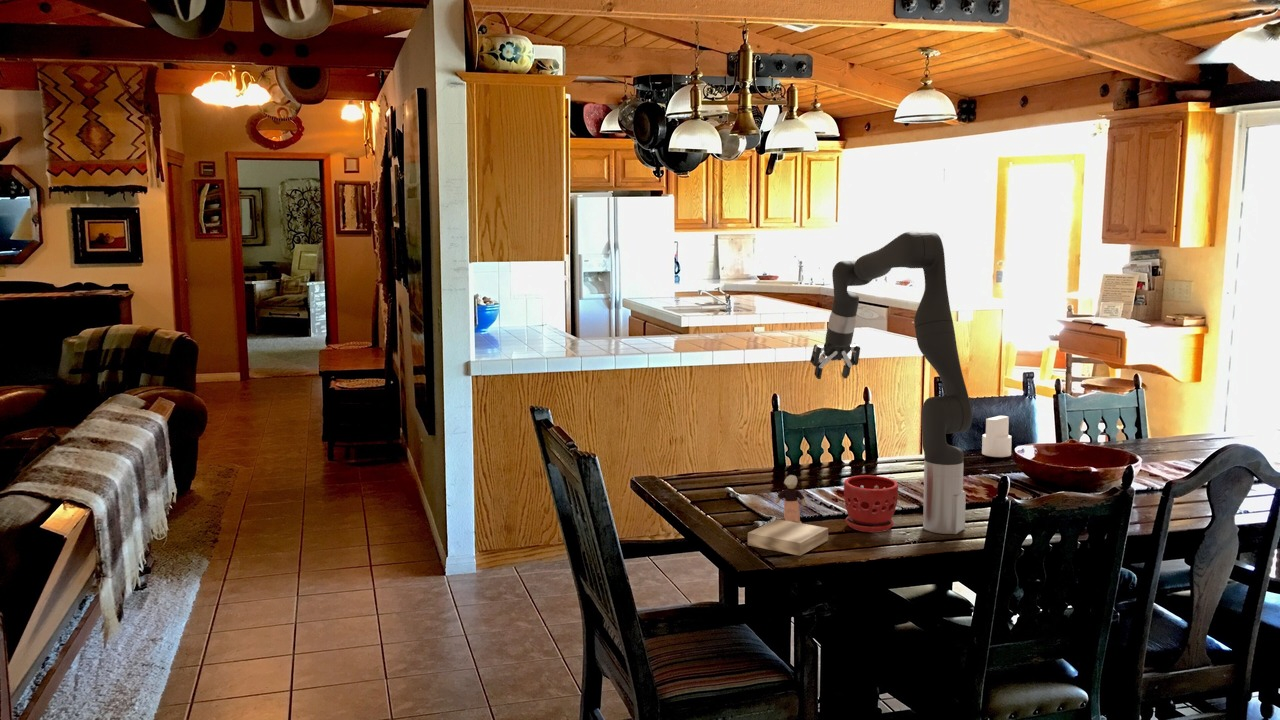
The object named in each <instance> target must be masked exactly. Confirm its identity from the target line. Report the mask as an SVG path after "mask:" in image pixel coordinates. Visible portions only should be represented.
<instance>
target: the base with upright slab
mask: <svg viewBox="0 0 1280 720" xmlns="http://www.w3.org/2000/svg"><path fill="white" fill-rule="evenodd" d="M1009 418H1010V416H1007V415H996V416H993V417H988V418H986V419H985V433H984V434H982V437H981V442H982V443H981V445H982V446H981V454H982V455H984V456H986V457H991V458H992V457H993V458H1005V457H1006V458H1007V457H1011V456H1012V435H1010V434H1009V422H1010V419H1009Z"/></svg>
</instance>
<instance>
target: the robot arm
mask: <svg viewBox="0 0 1280 720" xmlns="http://www.w3.org/2000/svg"><path fill="white" fill-rule="evenodd" d="M893 268H896V269H897V268H907V269H922V270H923V275H924V292H923V295H922V297H921V300H920V301H919V304H918V307H917V310H916V312H915V314H914V319H913V320H914V323H913V324H914V325H913V326H914V330H915V331H914V332H915V336H916V338H915V339H916V342H917V346H918V349H919V351H920V353H921V354H922V355H923V357H924V359H926V361H927V362H928V363H929V364H930V366H932V368H933V369H934V370H935V372H936V373H937V375H938V376H939V379H940V381H941V383H942V385H943V390H944V394H945V395H942V396H941V395H937V396H929V397H927V398H926V399H925V400H924V402H923V404H922V409H921V436H922V437H921V440H922V442H921V445H922V450H923V453H924V461H923V462H924V464H923V465H924V466H923V467H924V468H923V469H924V470H923V512H922V513H923V516H922V517H923V518H922V522H923V524H922V528H923V529H924V530H925V531H927V532H931V533H935V534H944V535H948V534H949V535H957V534H958V533H961V532H962V531H964V529H965V528H966V499H967V498H966V494H967V492H966V490H964V459H965V458H964V457H965V455H964V451H963V449H961V448H959V447H957V446H955V445H954V446H953V445H950V444H948V441H947V435H948V434H957V433H965V432H967V431H969V430H970V428H971V425H972V422H973V413H972V412H973V411H972V405H971V401H970V397H969V393H968V390H967V389H968V388H967V386H966V382H965V378H964V376H963V371H962V367H961V366H962V365H961V362H960V358H959V352H958V346H957V338H956V333H955V327H954V320H953V316H952V312H951V307H950V306H951V305H950V300H949V292H948V287H947V286H948V285H947V284H948V283H947V272H946V259H945V249H944V245H943V242H942V239H941V236H940V235H939V234H937V232H934V231H906V232H904V233H902V234H899V235H898V236H897V237H895V238H894V239H893V240H891V241H890V242H888V243H886V244H885V245H884V246H882V247H880V248H879V249H877V250H874V251H871V252H869V253H866V254H864V255H862V256H860V257H859V258H857V260H841V261H838V262H837V263H836V264H835V265H834V267H833V269H832V273H831V275H832V285H833V303H832V308H831V312H830V315H829V318H828V322H827V328H826V332H825V333H826V334H825V339H824V340H825V341H824V344H823V345H818V343H817V344H814V346H813V349H812V352H811V357H810V361H809V362H810V363H811V365H812V366H813V367H815V369H814V377H815V378H816V379H817V380H821V378H822V375H823V370H824V369H823V367H824V366H825V365H826V364H828V363H830V361H842V360H843V362H844V363H845V364H843V367H842V372H841V376H842V378H843V379H848V377H849V376H850V374H851V367H853V366H857V365H858V364H859V360H860V352H861V346H860V345H858V344H857V343H853V344H852V342H853V336H854V332H855V326H856V322H857V312H858V309H859V303H860V297H859V295H858V294H857V293H855V292H853V291H849V290H848V287H858V286H865V285H868V284H870V283H871V281H873V280H876V279H878V278H881V277H884V276H886V275H887V274H888V273H890V272H891V270H892V269H893ZM850 352H851V356H850V357H849V356H848V354H849V353H850Z"/></svg>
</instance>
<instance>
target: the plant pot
mask: <svg viewBox="0 0 1280 720" xmlns="http://www.w3.org/2000/svg"><path fill="white" fill-rule="evenodd" d="M843 483H844V484H843V499H844V505H845V510H846V512H847V515H848V516H847V517H846V518H845V522H846V524H847V525H848V526H849V528H851V529H853V530H856V531H859V532H863V533H882V532H886V531H888V530H890V529H892V528H893V526H894V520H893V519H892V518H893V515H894V514H895V512H896V511H895V510H896V508H897V503H898V497H899V483H898V482H897V481H896V480H894V479H892V478H889V477H886V476H879V475H871V474H869V475H867V474H863V475H862V474H860V475H854V476H850V477H847V478H845V480H844V482H843ZM862 486H863V487H862ZM875 487H877V488H875Z"/></svg>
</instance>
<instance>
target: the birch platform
mask: <svg viewBox="0 0 1280 720" xmlns="http://www.w3.org/2000/svg"><path fill="white" fill-rule="evenodd" d="M828 541H829V527H823V526H818V525H813V524H807V523H803V522H802V523H797V522H795V521H785V519H778V518H776V519H774V520H772V521H770V522H768V523H766V524H764V525H761V526H758V528H755V529H753V530H751V531H749V532H747V546H748V547H749V546H751V547H755V548H760V549H765V550H770V551H773V552H774V551H776V552H779V553H786V554H789V555H794V556H800V557H801V556H803V555H804V554H807V553H808V552H810V551H811V550H814V549H815V548H817V547H818V546H821V545H823V544H825V543H826V542H828Z"/></svg>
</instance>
